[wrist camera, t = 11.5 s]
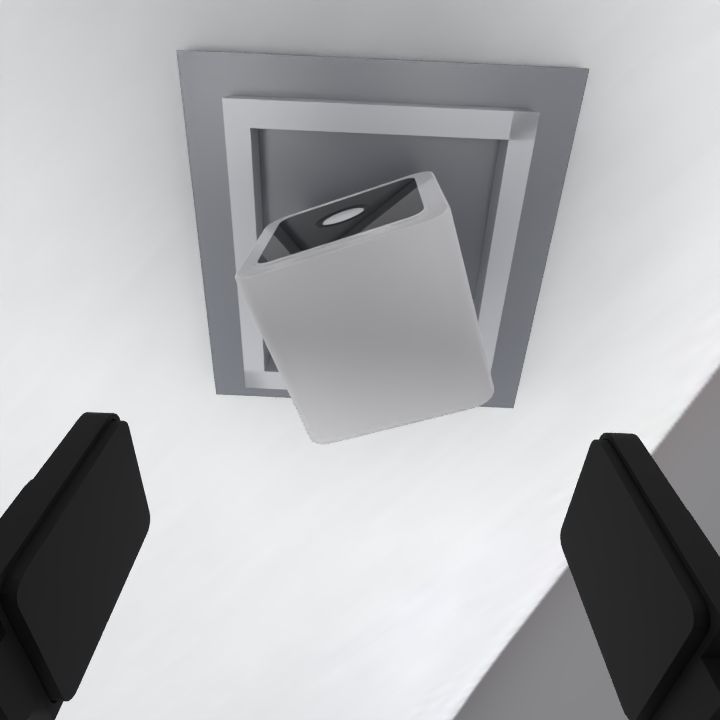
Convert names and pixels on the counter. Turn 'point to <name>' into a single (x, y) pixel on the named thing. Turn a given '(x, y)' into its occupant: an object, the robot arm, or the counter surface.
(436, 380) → the security camera
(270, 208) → the mounting plate
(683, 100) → the counter surface
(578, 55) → the counter surface
